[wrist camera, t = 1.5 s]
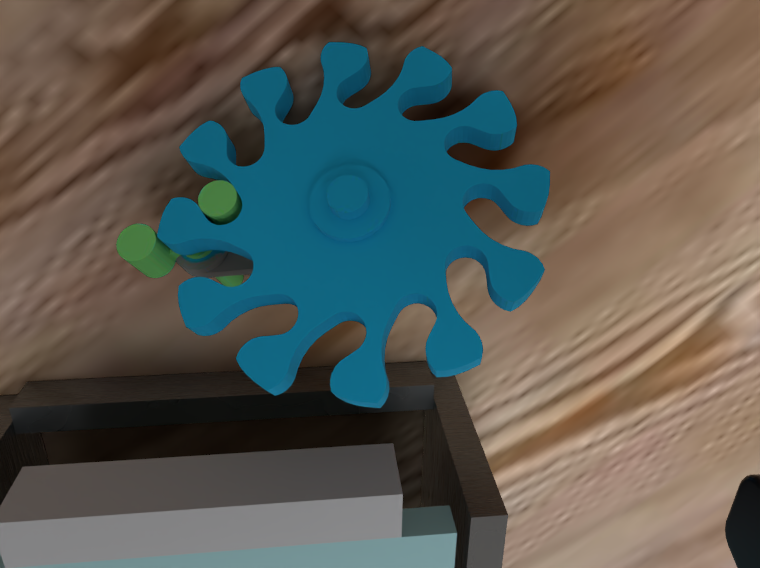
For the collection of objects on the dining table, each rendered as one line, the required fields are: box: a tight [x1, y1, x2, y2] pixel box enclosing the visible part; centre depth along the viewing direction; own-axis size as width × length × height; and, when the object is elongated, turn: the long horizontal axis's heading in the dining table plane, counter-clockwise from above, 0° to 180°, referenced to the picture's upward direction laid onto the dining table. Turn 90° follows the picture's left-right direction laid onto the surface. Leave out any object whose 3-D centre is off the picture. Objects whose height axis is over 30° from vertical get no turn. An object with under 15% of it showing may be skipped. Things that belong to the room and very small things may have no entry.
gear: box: [116, 42, 550, 408], centre depth 18 cm, size 11×6×10 cm
